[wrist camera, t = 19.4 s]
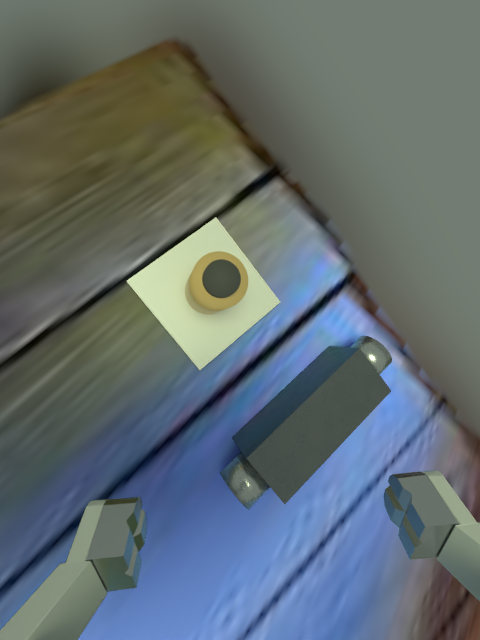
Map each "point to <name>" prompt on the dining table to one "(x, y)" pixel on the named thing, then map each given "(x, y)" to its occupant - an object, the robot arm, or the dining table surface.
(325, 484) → the dining table surface
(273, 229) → the dining table surface
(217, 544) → the dining table surface
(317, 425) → the motor housing
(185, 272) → the far side pad
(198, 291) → the yellow cylinder
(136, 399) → the dining table surface
